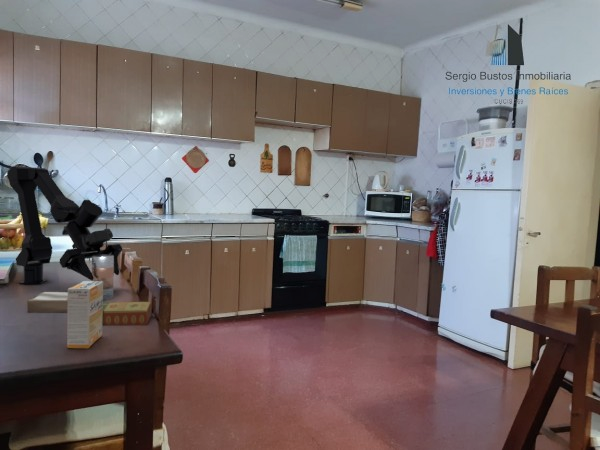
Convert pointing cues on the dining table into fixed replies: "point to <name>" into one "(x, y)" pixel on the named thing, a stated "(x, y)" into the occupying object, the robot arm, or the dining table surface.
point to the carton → (126, 313)
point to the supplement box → (84, 314)
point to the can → (104, 273)
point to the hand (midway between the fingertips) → (105, 276)
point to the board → (49, 302)
